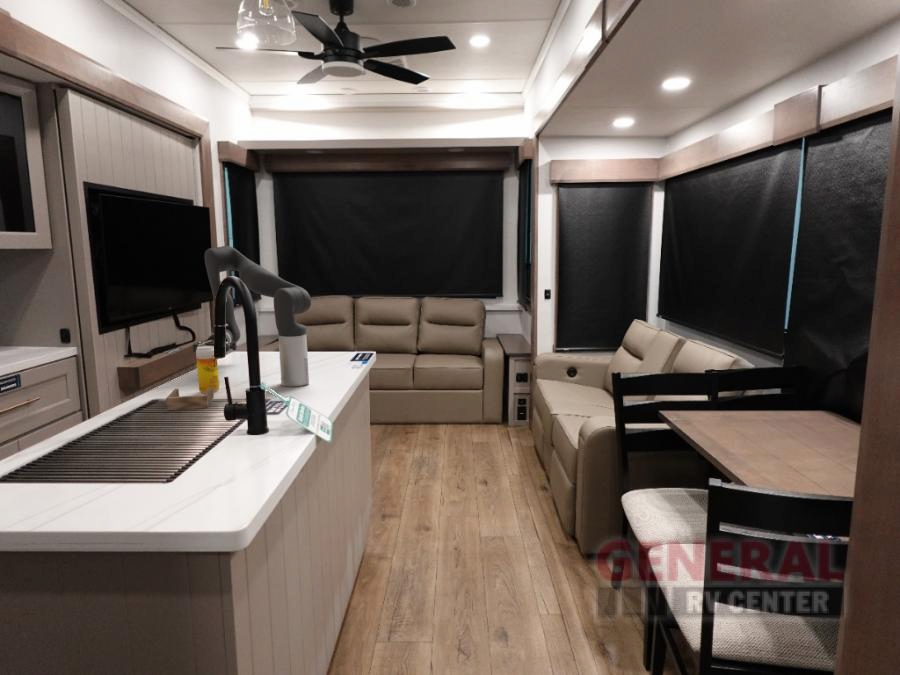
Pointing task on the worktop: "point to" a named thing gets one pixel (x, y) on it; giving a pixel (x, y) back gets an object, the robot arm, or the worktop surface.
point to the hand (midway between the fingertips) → (212, 350)
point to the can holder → (189, 400)
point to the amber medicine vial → (207, 369)
